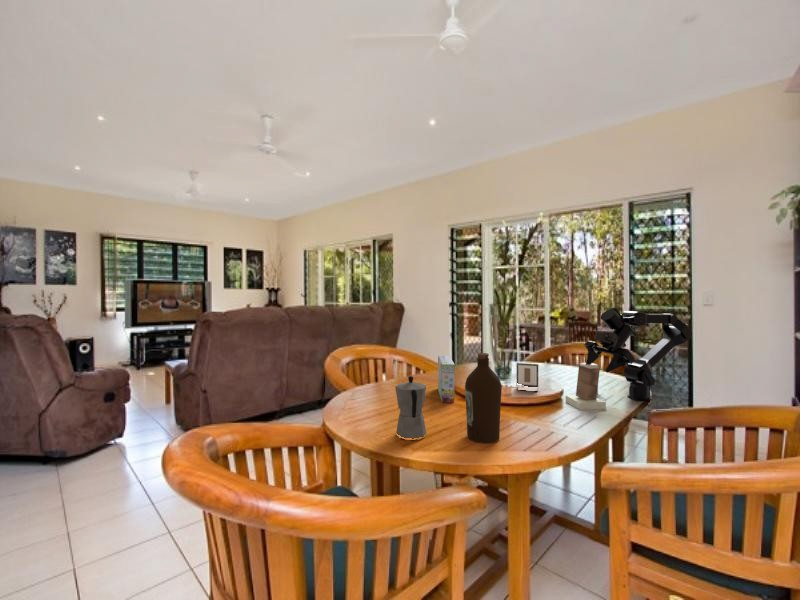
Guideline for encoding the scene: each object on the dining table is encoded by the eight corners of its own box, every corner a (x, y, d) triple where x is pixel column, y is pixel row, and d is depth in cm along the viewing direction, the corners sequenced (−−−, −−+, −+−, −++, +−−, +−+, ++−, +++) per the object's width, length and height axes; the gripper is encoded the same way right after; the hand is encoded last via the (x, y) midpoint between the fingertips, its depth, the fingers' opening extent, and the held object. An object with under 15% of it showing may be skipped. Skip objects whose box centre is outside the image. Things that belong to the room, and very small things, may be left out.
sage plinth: (590, 402, 152) (590, 394, 152) (605, 410, 142) (605, 402, 142) (565, 403, 151) (565, 395, 151) (579, 411, 141) (579, 402, 141)
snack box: (455, 402, 151) (455, 364, 150) (441, 402, 151) (441, 364, 150) (449, 388, 172) (449, 354, 171) (437, 388, 172) (436, 354, 171)
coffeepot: (393, 428, 124) (393, 372, 123) (423, 426, 125) (422, 371, 124) (398, 447, 108) (397, 383, 108) (431, 446, 109) (431, 382, 109)
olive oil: (496, 430, 121) (496, 350, 120) (505, 444, 110) (505, 356, 109) (462, 430, 121) (462, 350, 120) (468, 444, 110) (468, 356, 110)
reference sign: (516, 387, 173) (516, 362, 173) (538, 388, 170) (538, 363, 170) (516, 390, 168) (516, 364, 167) (538, 392, 165) (538, 365, 164)
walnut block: (585, 394, 150) (588, 364, 149) (596, 399, 145) (599, 367, 144) (575, 395, 148) (579, 364, 147) (586, 400, 143) (589, 368, 142)
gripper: (588, 320, 156) (566, 350, 153) (629, 327, 139) (605, 361, 136) (602, 338, 160) (581, 367, 157) (645, 347, 142) (621, 380, 139)
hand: (596, 368), depth 147 cm, fingers open, 9 cm apart
